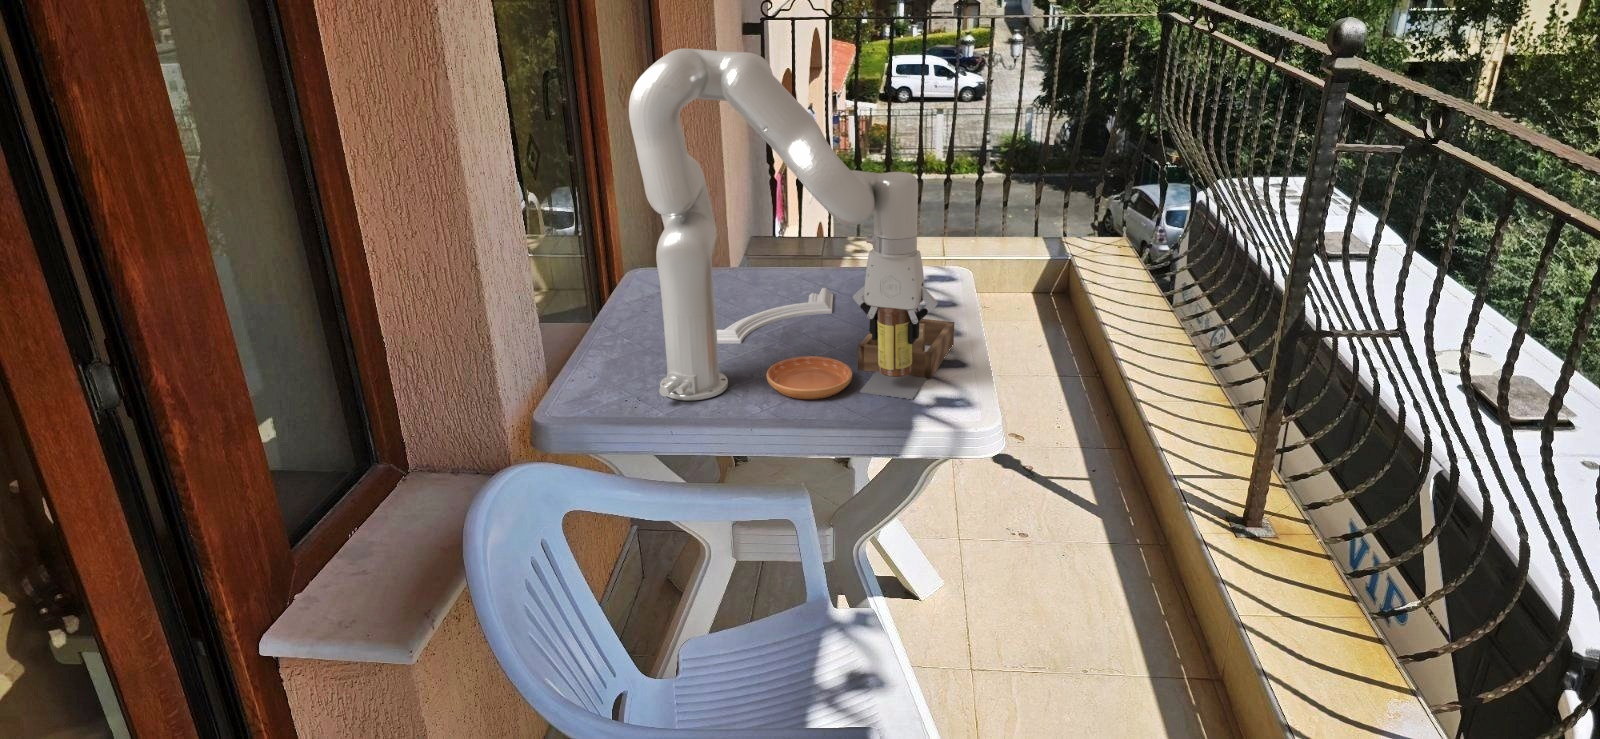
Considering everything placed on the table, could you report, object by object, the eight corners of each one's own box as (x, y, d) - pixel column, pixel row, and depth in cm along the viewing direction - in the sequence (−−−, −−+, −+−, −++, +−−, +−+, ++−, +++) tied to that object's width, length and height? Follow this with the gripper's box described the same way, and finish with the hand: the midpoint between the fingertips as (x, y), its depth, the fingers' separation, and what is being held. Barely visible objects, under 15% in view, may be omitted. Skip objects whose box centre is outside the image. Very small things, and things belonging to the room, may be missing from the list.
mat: (912, 399, 186) (912, 398, 185) (859, 392, 189) (859, 391, 189) (926, 379, 194) (926, 377, 194) (875, 372, 198) (875, 371, 197)
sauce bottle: (912, 366, 193) (915, 264, 185) (911, 379, 187) (914, 274, 180) (877, 364, 194) (879, 263, 186) (875, 378, 188) (876, 273, 180)
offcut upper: (922, 351, 197) (922, 331, 195) (880, 349, 198) (880, 329, 197) (924, 343, 201) (924, 323, 199) (883, 341, 202) (883, 321, 201)
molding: (821, 296, 243) (821, 284, 242) (857, 307, 235) (857, 295, 234) (674, 341, 217) (673, 328, 216) (709, 356, 209) (708, 342, 208)
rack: (930, 379, 194) (931, 354, 192) (857, 369, 199) (857, 345, 197) (953, 345, 210) (954, 322, 208) (885, 337, 215) (885, 314, 213)
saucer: (861, 399, 187) (861, 384, 186) (775, 408, 184) (774, 393, 183) (840, 366, 202) (840, 352, 200) (760, 374, 199) (759, 360, 198)
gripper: (841, 245, 181) (842, 341, 188) (938, 253, 175) (935, 352, 182) (855, 235, 187) (855, 328, 194) (948, 242, 181) (945, 337, 188)
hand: (894, 338), depth 188 cm, fingers closed on sauce bottle, 6 cm apart
